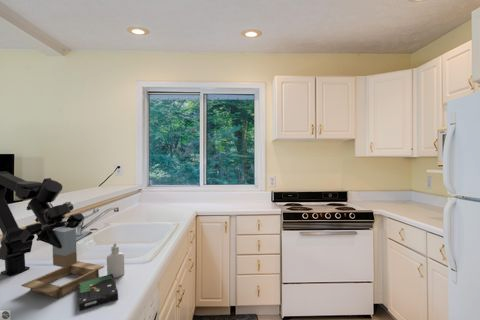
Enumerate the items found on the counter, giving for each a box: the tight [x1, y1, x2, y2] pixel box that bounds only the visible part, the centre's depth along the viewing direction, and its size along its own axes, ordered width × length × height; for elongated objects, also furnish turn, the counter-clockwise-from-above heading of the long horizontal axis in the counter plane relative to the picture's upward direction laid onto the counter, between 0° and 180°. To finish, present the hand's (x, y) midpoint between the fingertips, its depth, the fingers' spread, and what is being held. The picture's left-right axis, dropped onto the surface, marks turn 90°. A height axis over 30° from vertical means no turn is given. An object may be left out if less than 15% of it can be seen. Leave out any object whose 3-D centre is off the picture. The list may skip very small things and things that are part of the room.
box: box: [52, 227, 78, 268], centre depth 88 cm, size 6×4×12 cm, turn 69°
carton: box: [20, 260, 105, 299], centre depth 89 cm, size 14×19×3 cm
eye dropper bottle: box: [106, 242, 126, 279], centre depth 94 cm, size 4×6×12 cm
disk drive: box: [78, 274, 119, 312], centre depth 82 cm, size 10×3×15 cm
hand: (67, 245), depth 88 cm, fingers closed on box, 4 cm apart
